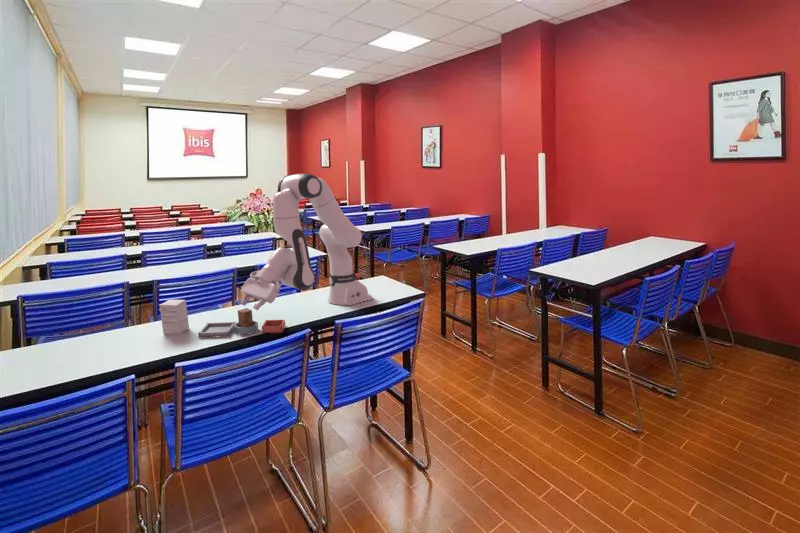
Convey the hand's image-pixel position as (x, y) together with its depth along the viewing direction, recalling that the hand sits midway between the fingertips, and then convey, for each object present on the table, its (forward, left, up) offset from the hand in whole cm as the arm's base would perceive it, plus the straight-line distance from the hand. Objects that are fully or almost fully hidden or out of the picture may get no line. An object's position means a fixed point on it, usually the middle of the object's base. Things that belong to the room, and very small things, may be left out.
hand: (248, 306), depth 188 cm
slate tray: (+12, -5, -10) cm, 16 cm away
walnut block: (+2, +1, -10) cm, 10 cm away
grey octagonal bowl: (+2, 0, -10) cm, 10 cm away
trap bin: (-8, +5, -10) cm, 14 cm away
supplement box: (+26, -15, -10) cm, 32 cm away
